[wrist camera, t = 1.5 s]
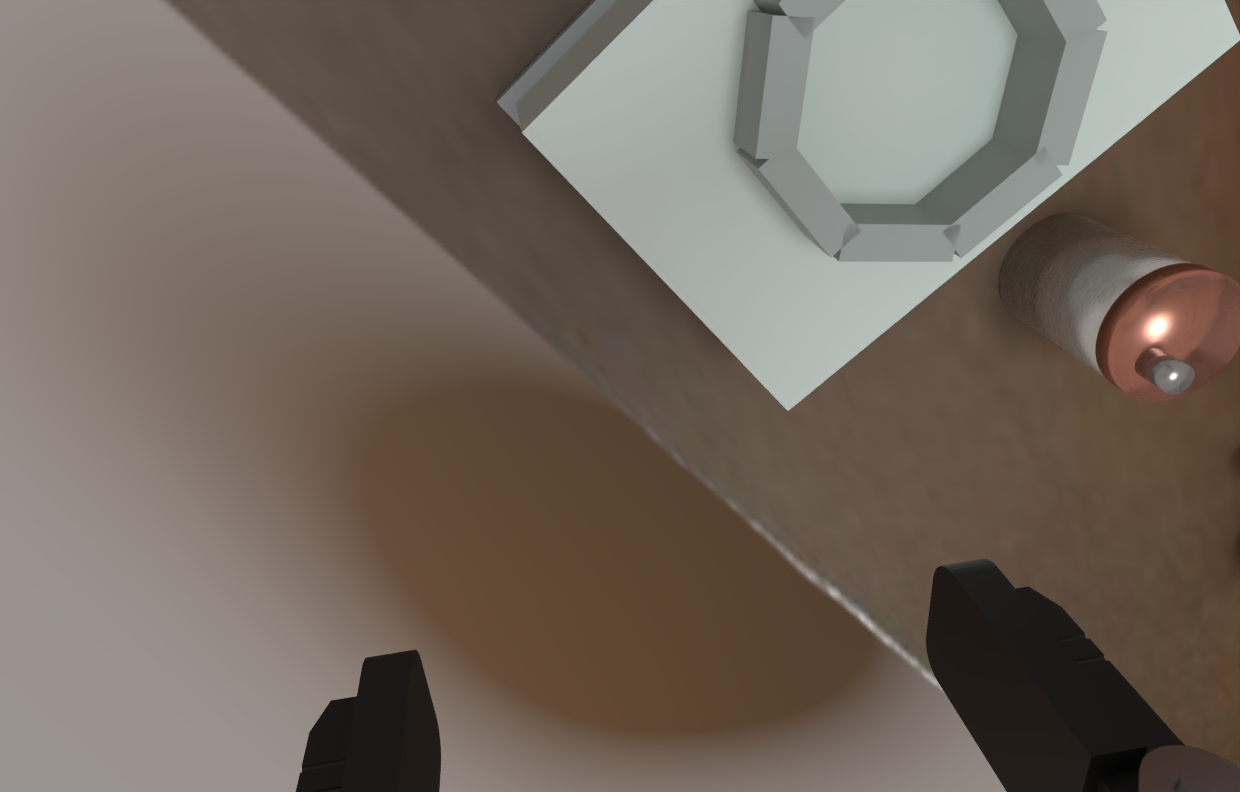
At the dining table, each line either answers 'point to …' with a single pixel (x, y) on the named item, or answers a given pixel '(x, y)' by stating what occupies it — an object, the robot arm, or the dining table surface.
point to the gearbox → (840, 143)
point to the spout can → (1123, 306)
